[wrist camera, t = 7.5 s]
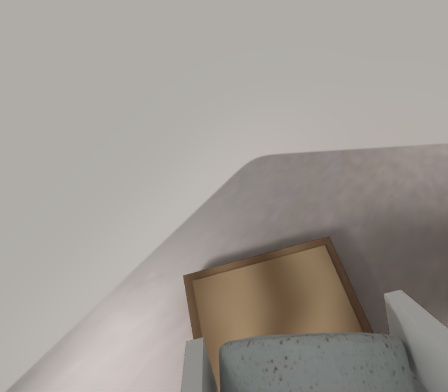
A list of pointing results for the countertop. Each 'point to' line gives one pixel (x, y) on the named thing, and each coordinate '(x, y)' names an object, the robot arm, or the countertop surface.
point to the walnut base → (273, 297)
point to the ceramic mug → (317, 364)
